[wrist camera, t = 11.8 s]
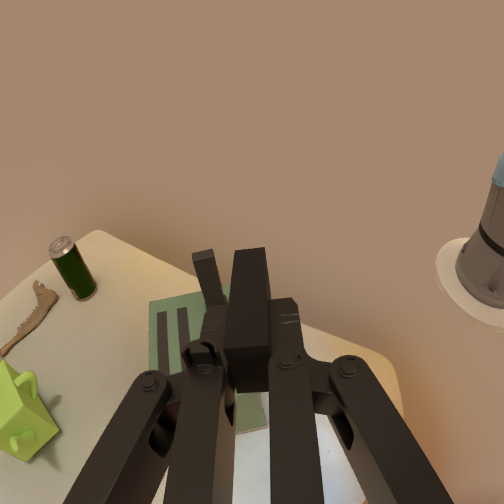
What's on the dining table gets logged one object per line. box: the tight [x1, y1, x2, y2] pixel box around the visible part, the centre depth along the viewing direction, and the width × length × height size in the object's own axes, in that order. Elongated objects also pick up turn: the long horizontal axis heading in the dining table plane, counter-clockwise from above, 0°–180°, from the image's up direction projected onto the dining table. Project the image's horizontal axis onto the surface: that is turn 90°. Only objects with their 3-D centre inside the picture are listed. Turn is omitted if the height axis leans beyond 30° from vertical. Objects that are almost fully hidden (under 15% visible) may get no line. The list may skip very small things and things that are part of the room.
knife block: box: [149, 285, 268, 435], centre depth 33 cm, size 10×14×11 cm
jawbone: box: [0, 280, 58, 357], centre depth 47 cm, size 9×20×2 cm, turn 178°
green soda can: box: [48, 235, 97, 301], centre depth 49 cm, size 5×5×12 cm
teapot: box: [0, 359, 59, 462], centre depth 27 cm, size 15×13×11 cm
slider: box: [192, 249, 228, 311], centre depth 30 cm, size 2×2×8 cm
